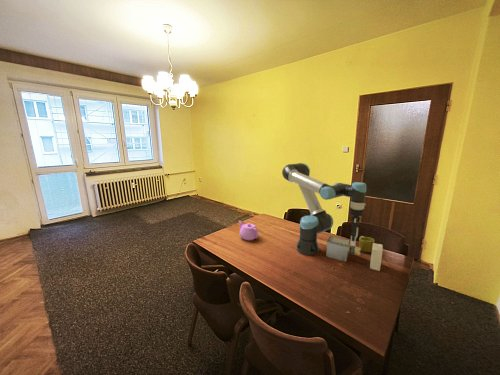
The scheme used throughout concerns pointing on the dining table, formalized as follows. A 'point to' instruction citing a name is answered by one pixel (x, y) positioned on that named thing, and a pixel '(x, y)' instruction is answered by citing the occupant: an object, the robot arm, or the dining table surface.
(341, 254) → the pale grey box
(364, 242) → the mug
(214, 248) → the dining table surface
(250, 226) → the teapot
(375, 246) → the socket block
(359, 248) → the tube
